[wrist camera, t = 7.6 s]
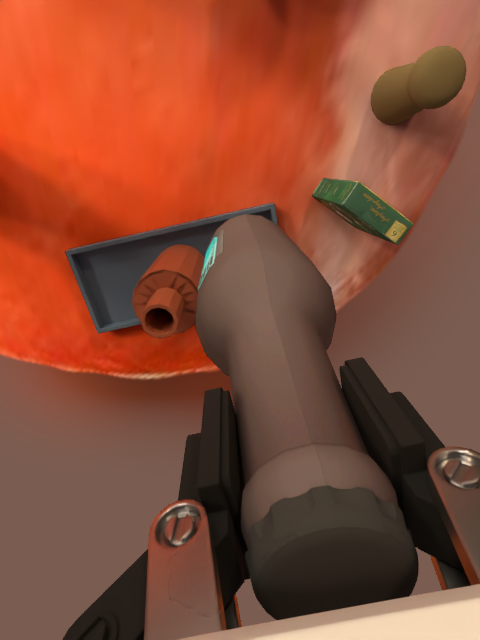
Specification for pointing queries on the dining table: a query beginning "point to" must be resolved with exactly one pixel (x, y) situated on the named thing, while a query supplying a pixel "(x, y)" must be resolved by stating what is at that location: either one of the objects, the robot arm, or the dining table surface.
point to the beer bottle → (297, 432)
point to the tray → (137, 264)
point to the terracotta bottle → (169, 292)
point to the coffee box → (363, 209)
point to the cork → (419, 85)
